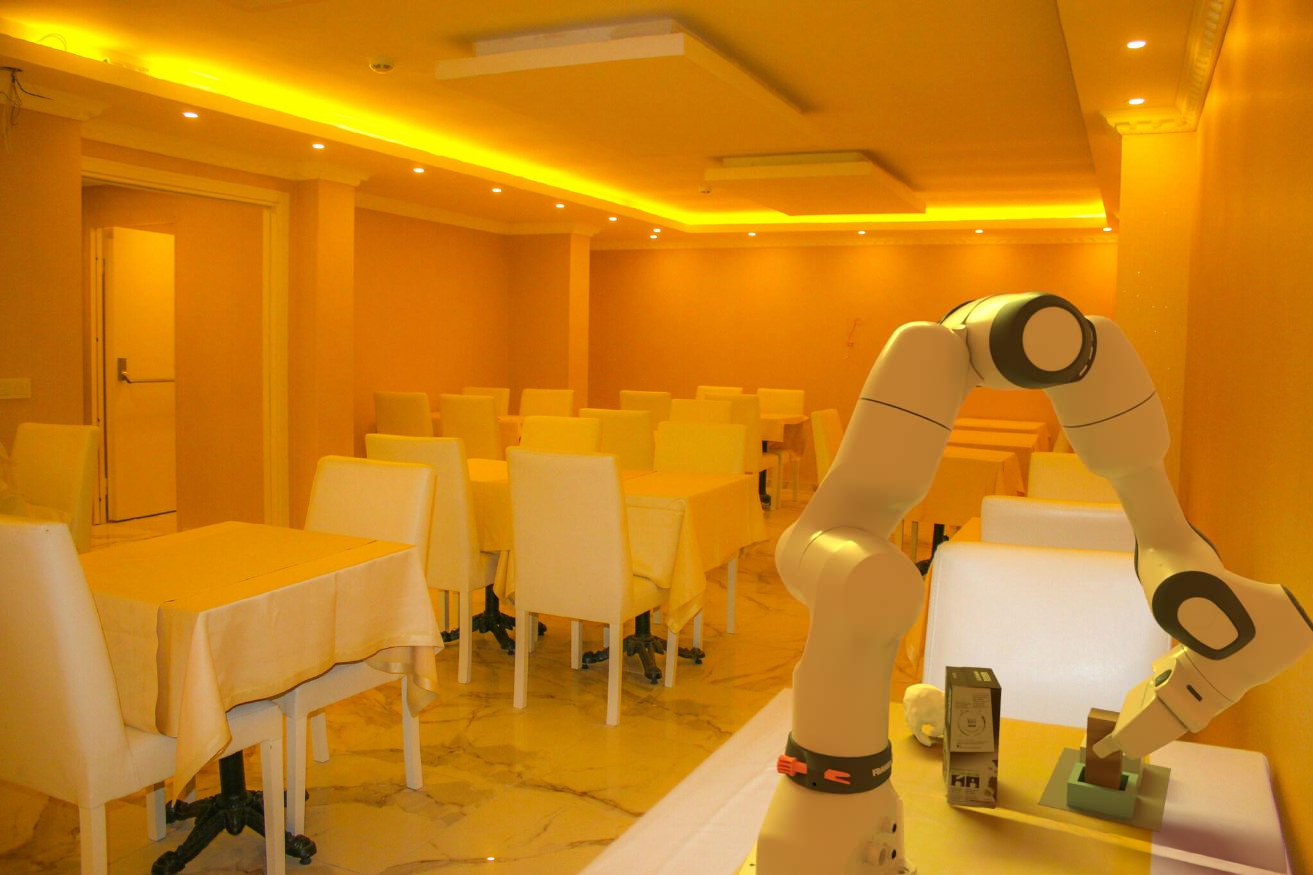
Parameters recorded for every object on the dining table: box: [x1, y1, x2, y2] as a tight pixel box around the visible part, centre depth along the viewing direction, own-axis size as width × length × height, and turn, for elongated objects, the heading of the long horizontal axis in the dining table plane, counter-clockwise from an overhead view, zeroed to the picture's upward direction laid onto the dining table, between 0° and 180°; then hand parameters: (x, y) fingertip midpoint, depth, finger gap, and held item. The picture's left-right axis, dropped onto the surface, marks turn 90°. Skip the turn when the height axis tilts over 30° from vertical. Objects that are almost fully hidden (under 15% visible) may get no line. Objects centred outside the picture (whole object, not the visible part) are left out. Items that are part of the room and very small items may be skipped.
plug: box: [1085, 707, 1123, 791], centre depth 127 cm, size 4×4×10 cm
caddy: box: [1037, 731, 1171, 833], centre depth 132 cm, size 22×14×5 cm, turn 149°
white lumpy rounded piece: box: [902, 683, 945, 747], centre depth 150 cm, size 6×8×12 cm
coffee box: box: [941, 665, 1003, 810], centre depth 131 cm, size 9×6×16 cm
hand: (1099, 744), depth 127 cm, fingers closed on plug, 4 cm apart
